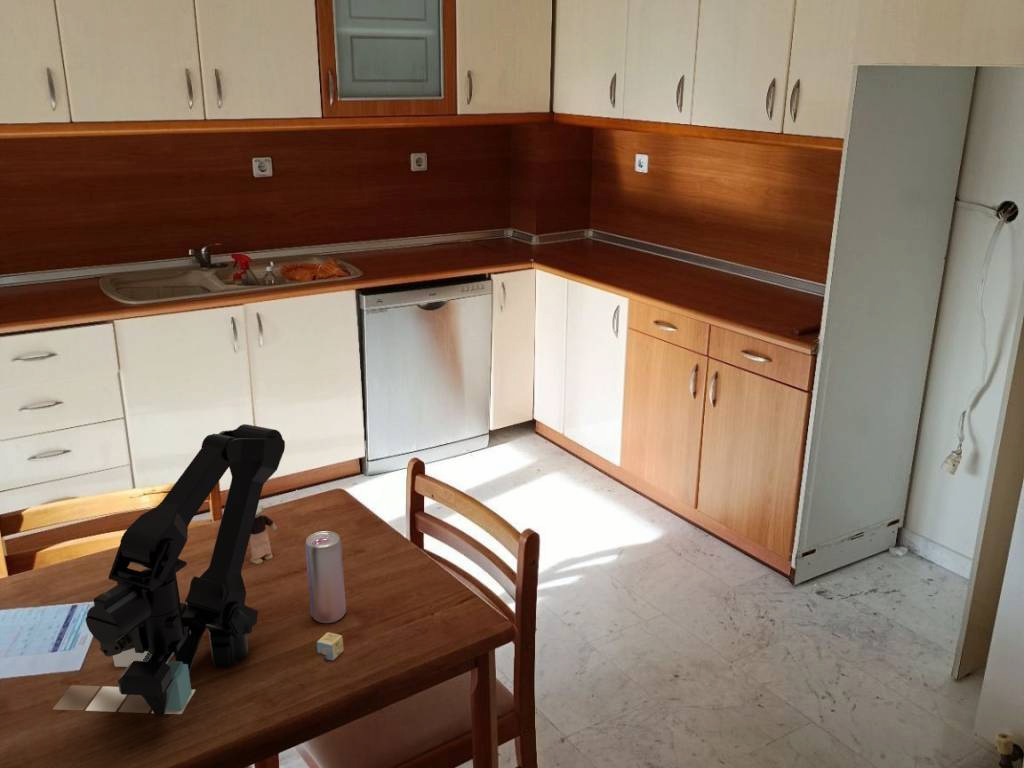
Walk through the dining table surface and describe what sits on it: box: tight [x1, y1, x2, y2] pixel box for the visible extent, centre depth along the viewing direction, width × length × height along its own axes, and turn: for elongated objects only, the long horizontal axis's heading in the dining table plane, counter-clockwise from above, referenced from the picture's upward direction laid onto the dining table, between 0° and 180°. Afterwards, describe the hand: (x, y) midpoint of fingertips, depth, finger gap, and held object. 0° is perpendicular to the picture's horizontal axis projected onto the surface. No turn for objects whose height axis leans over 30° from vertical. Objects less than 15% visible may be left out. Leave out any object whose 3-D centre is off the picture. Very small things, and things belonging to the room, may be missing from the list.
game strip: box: [52, 684, 196, 715], centre depth 142 cm, size 9×20×1 cm, turn 87°
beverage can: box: [304, 530, 347, 624], centre depth 161 cm, size 6×6×15 cm
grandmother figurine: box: [249, 499, 278, 565], centre depth 180 cm, size 8×4×13 cm, turn 144°
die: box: [112, 648, 148, 668], centre depth 151 cm, size 4×4×5 cm
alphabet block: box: [316, 632, 344, 661], centre depth 153 cm, size 3×3×3 cm
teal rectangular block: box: [166, 660, 192, 710], centre depth 140 cm, size 4×4×6 cm
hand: (172, 695), depth 141 cm, fingers open, 9 cm apart
